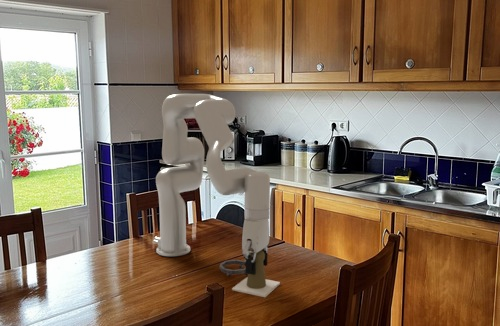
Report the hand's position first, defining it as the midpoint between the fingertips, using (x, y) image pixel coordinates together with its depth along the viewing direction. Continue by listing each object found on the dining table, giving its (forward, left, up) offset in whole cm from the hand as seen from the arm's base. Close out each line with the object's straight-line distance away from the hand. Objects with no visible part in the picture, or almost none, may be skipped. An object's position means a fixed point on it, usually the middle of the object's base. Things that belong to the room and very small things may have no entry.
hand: (256, 268), depth 146 cm
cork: (0, 0, -5) cm, 5 cm away
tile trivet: (0, 0, -6) cm, 6 cm away
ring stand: (-12, +8, -6) cm, 16 cm away
